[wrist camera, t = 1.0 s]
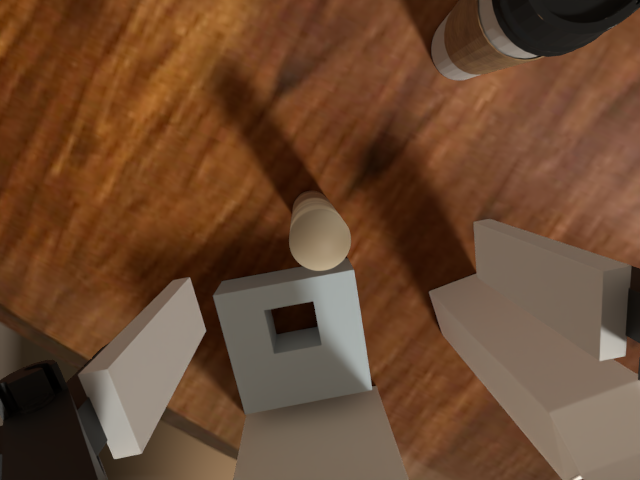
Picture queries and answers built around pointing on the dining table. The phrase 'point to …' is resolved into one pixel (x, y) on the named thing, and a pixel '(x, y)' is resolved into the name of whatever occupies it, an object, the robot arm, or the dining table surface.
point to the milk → (546, 383)
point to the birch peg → (317, 232)
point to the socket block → (294, 337)
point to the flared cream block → (321, 442)
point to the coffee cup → (519, 32)
